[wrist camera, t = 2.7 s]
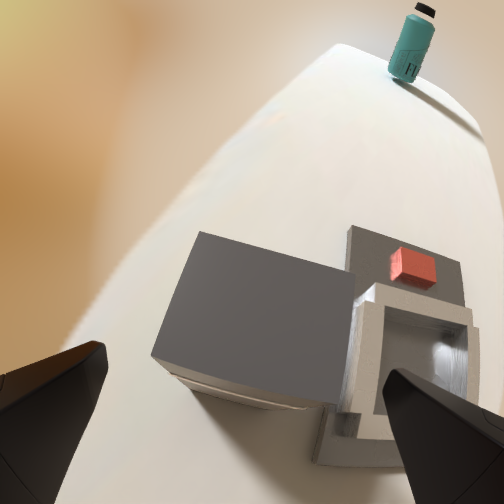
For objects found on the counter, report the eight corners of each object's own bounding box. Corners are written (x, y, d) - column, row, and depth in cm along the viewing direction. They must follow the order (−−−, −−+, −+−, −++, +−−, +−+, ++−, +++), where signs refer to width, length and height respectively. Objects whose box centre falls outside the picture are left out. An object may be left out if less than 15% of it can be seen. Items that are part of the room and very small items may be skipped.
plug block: (269, 410, 16) (340, 406, 7) (188, 389, 16) (148, 356, 7) (283, 350, 18) (357, 273, 9) (207, 329, 18) (198, 229, 9)
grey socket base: (448, 460, 14) (474, 460, 11) (311, 462, 14) (328, 469, 12) (453, 267, 23) (472, 251, 21) (347, 231, 24) (361, 209, 21)
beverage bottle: (398, 87, 45) (430, 6, 28) (378, 71, 48) (405, -5, 31) (417, 90, 47) (448, 17, 30) (397, 75, 50) (424, 4, 33)
